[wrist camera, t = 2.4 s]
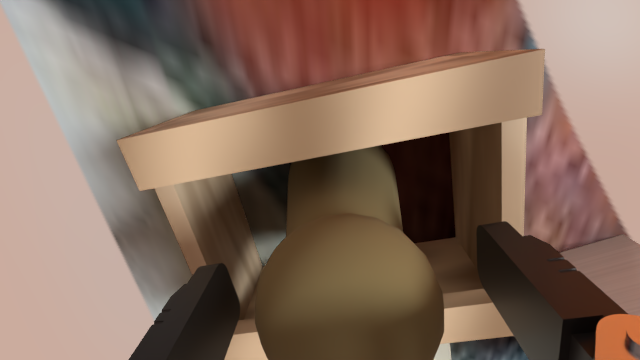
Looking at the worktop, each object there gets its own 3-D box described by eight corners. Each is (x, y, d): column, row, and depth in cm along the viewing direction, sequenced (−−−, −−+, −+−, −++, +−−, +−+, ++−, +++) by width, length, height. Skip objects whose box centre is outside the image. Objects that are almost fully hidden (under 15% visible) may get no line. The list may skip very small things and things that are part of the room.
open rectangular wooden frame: (461, 52, 15) (544, 48, 9) (470, 246, 19) (532, 333, 13) (195, 110, 16) (116, 140, 10) (254, 278, 20) (220, 368, 14)
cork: (350, 247, 19) (367, 468, 9) (267, 191, 18) (177, 370, 8) (418, 173, 17) (543, 347, 7) (331, 106, 16) (323, 193, 6)
